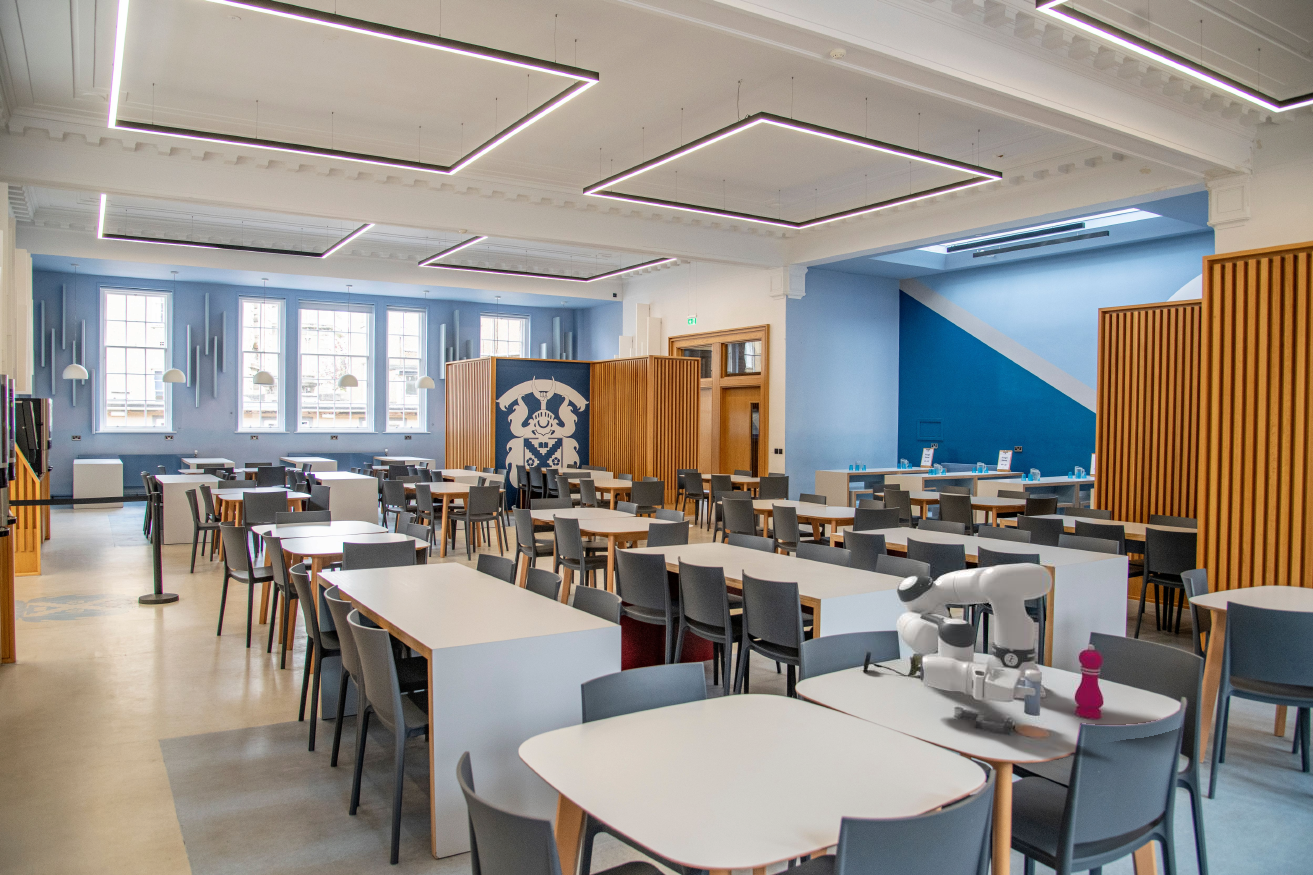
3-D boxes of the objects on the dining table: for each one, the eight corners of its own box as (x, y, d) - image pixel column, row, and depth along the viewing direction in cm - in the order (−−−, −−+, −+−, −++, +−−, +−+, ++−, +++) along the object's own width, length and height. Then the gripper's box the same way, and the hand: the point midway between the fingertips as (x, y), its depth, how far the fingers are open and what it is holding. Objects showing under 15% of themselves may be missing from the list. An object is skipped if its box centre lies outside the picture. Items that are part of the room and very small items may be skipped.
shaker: (1024, 709, 219) (1026, 668, 219) (1040, 712, 217) (1042, 671, 217) (1022, 713, 215) (1024, 672, 215) (1039, 716, 213) (1041, 674, 213)
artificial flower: (862, 671, 271) (867, 640, 273) (933, 688, 264) (938, 656, 266) (861, 670, 263) (866, 639, 265) (934, 688, 256) (939, 656, 258)
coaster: (1016, 724, 222) (1017, 722, 221) (1049, 730, 218) (1049, 729, 218) (1013, 733, 215) (1013, 731, 215) (1047, 740, 211) (1047, 738, 211)
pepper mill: (1106, 720, 226) (1109, 648, 226) (1078, 718, 228) (1081, 646, 228) (1098, 711, 234) (1100, 642, 233) (1070, 709, 235) (1073, 640, 235)
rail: (954, 714, 228) (955, 705, 228) (1015, 726, 220) (1015, 717, 220) (949, 723, 221) (950, 714, 221) (1011, 735, 213) (1011, 726, 213)
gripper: (985, 681, 231) (1039, 690, 224) (974, 701, 214) (1032, 711, 207) (986, 659, 231) (1040, 667, 224) (975, 677, 213) (1033, 687, 207)
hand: (1036, 689), depth 215 cm, fingers closed on shaker, 4 cm apart
